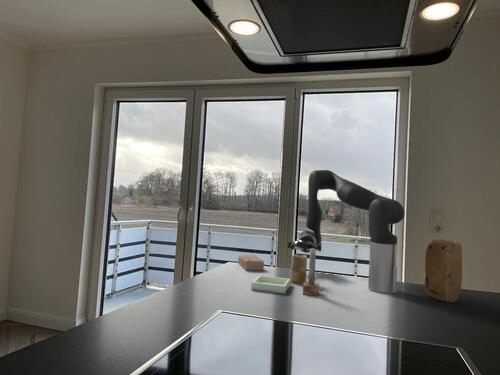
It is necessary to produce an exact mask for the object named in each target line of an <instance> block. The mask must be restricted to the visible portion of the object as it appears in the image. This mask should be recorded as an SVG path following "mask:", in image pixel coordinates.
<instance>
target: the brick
mask: <svg viewBox="0 0 500 375" xmlns="http://www.w3.org/2000/svg"><path fill="white" fill-rule="evenodd" d="M238 264H239V265H240V267H241V268H242V269H243V270H244V271H256V272H257V271H264V270H265V266H264V265H265V261H264V260H263V259H260V257H258V256H257V255H254V254H239V255H238Z"/></svg>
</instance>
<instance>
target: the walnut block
mask: <svg viewBox="0 0 500 375" xmlns="http://www.w3.org/2000/svg"><path fill="white" fill-rule="evenodd" d="M307 266H308V255H305V254H296V253H294V254H293V255H292V259H291V277H290V284H297V285H298V284H299V285H304V283H305V282H307V269H308V268H307Z"/></svg>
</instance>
